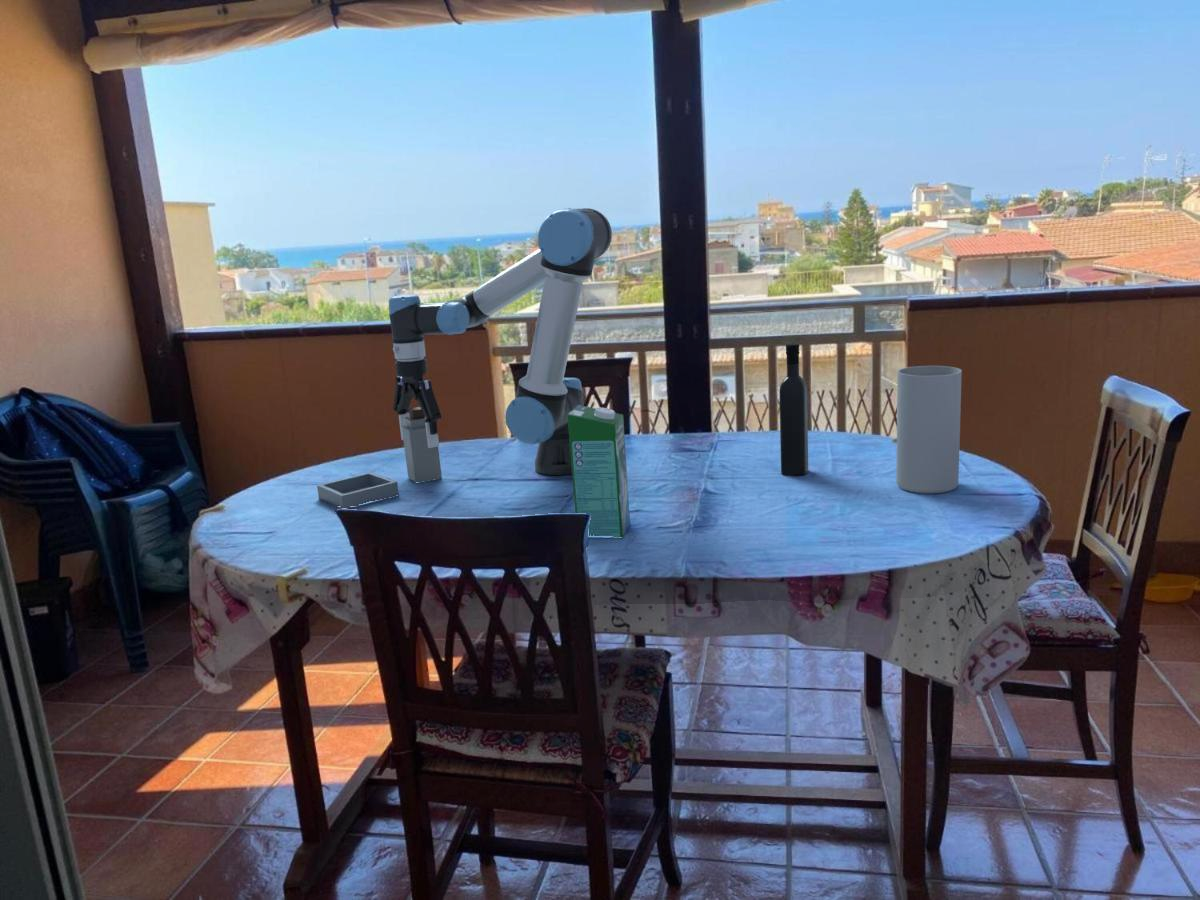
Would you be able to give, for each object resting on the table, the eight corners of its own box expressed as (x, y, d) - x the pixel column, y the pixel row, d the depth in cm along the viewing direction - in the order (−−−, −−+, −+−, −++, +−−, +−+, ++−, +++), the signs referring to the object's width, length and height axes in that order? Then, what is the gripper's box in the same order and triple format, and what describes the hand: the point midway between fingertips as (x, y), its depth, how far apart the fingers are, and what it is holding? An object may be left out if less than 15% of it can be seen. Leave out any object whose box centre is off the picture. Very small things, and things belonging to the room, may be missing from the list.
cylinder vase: (967, 482, 194) (971, 367, 187) (943, 498, 185) (946, 377, 179) (911, 475, 202) (913, 364, 196) (886, 489, 193) (887, 374, 187)
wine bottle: (780, 475, 209) (777, 346, 202) (784, 468, 214) (782, 342, 207) (805, 476, 207) (803, 346, 199) (809, 469, 212) (807, 342, 205)
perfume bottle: (415, 483, 224) (407, 412, 220) (408, 477, 230) (399, 408, 226) (441, 478, 227) (433, 408, 223) (433, 473, 233) (425, 404, 229)
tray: (399, 495, 214) (397, 481, 214) (343, 510, 206) (341, 495, 205) (372, 485, 225) (370, 472, 224) (319, 499, 216) (316, 485, 216)
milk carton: (622, 538, 175) (614, 412, 169) (577, 538, 176) (567, 413, 170) (630, 523, 183) (622, 402, 177) (586, 523, 185) (577, 404, 179)
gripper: (373, 357, 228) (383, 438, 233) (421, 365, 209) (431, 453, 215) (400, 353, 233) (409, 433, 238) (449, 360, 214) (458, 447, 219)
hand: (419, 443), depth 226 cm, fingers open, 13 cm apart
